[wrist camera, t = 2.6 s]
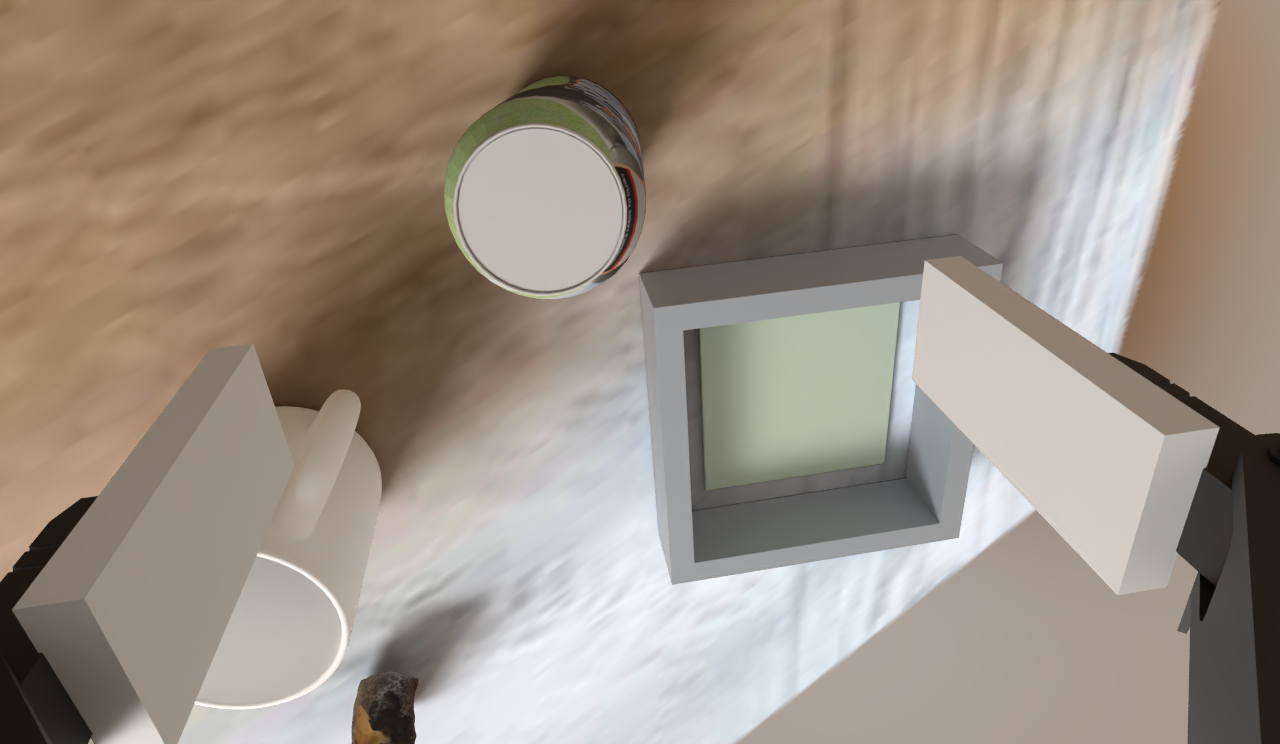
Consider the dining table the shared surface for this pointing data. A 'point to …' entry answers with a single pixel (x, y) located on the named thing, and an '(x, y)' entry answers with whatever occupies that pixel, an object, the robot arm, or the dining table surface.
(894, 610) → the dining table surface
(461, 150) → the beverage can
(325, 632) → the mug
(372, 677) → the rock
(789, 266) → the corral
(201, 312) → the dining table surface
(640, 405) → the dining table surface
